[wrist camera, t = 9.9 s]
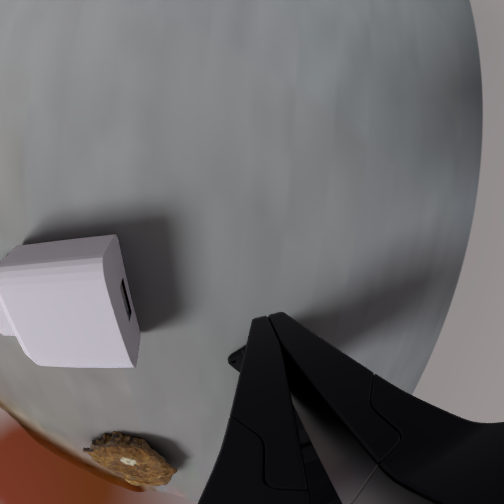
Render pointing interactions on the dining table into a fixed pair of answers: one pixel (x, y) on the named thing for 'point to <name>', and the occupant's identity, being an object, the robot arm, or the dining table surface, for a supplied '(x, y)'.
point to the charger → (69, 303)
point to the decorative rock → (131, 459)
